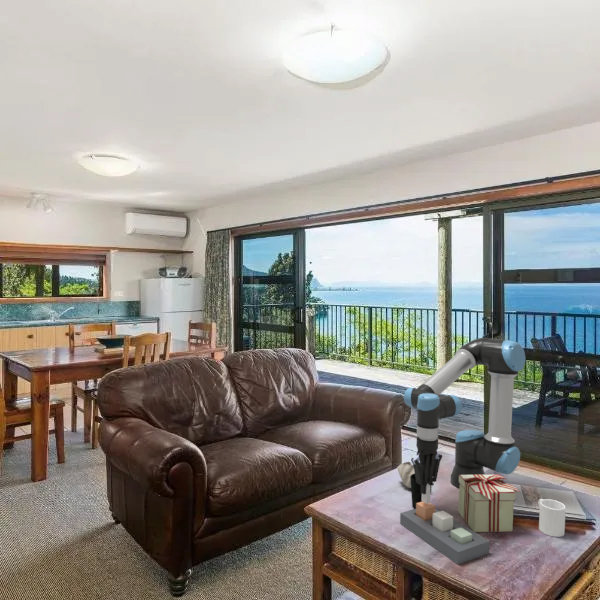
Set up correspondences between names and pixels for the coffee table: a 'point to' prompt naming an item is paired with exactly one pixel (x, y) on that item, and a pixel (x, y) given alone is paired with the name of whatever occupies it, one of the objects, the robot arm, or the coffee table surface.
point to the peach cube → (425, 510)
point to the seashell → (406, 473)
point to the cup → (415, 491)
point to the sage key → (461, 536)
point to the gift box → (486, 502)
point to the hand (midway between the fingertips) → (425, 501)
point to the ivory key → (442, 521)
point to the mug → (552, 517)
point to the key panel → (445, 538)
